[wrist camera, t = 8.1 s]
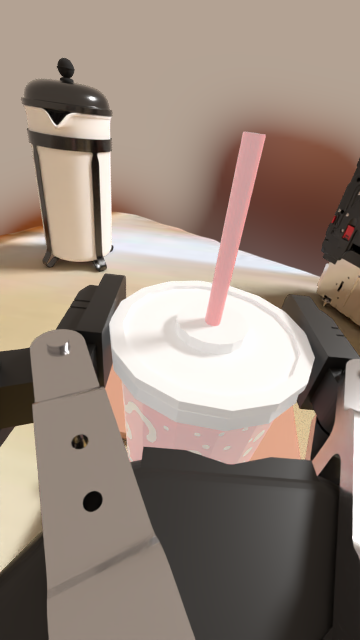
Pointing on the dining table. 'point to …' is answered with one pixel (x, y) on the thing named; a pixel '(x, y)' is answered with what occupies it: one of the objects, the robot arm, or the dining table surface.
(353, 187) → the bill acceptor
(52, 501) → the robot arm
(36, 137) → the coffee press
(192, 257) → the dining table surface
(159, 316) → the beverage cup
